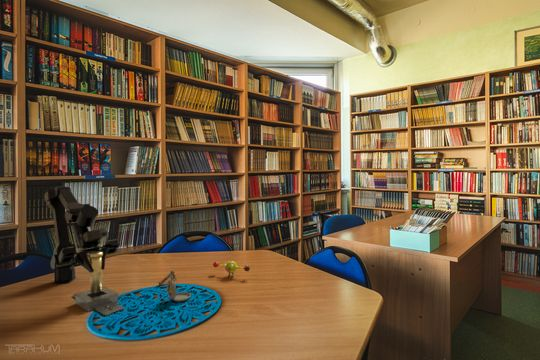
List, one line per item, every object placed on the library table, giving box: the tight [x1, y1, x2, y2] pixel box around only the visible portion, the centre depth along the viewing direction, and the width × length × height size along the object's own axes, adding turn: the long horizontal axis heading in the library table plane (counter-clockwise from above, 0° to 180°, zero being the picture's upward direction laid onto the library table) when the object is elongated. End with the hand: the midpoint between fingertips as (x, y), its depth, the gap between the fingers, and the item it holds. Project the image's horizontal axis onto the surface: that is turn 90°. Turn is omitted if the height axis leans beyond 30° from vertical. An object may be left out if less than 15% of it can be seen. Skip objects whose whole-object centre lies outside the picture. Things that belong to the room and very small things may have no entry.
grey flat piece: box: [72, 286, 125, 317], centre depth 110 cm, size 26×10×3 cm, turn 52°
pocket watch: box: [166, 272, 192, 302], centre depth 112 cm, size 8×8×10 cm
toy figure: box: [212, 260, 251, 278], centre depth 136 cm, size 18×6×7 cm, turn 68°
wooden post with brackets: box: [157, 270, 177, 286], centre depth 129 cm, size 2×8×4 cm, turn 145°
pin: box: [88, 251, 103, 293], centre depth 109 cm, size 4×4×14 cm
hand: (97, 270), depth 109 cm, fingers closed on pin, 4 cm apart
